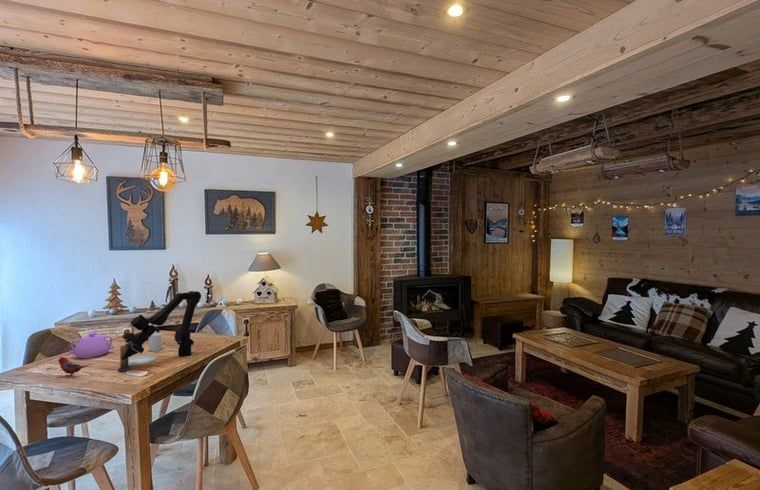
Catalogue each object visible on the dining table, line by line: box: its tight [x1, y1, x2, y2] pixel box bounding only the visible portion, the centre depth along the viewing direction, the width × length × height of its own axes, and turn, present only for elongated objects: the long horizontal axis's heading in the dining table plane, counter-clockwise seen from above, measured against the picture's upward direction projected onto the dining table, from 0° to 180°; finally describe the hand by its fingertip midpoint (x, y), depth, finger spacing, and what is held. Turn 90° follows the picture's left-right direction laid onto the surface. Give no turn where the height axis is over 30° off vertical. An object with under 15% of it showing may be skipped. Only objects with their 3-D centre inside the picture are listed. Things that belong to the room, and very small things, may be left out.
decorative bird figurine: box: [57, 356, 90, 377], centre depth 189 cm, size 3×18×10 cm, turn 84°
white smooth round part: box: [128, 354, 157, 367], centre depth 214 cm, size 18×18×1 cm
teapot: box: [68, 328, 115, 359], centre depth 226 cm, size 22×22×14 cm
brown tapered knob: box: [117, 344, 132, 373], centre depth 199 cm, size 6×6×13 cm
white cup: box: [147, 332, 163, 352], centre depth 236 cm, size 8×8×10 cm
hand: (121, 358), depth 198 cm, fingers closed on brown tapered knob, 4 cm apart
